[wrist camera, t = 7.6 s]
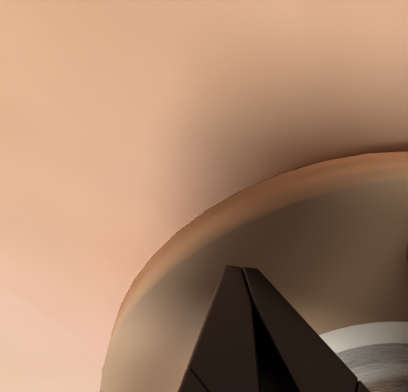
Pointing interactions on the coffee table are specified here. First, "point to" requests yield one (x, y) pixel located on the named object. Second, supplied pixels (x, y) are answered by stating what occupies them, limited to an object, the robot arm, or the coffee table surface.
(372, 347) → the cover
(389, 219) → the turntable
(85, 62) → the coffee table surface
